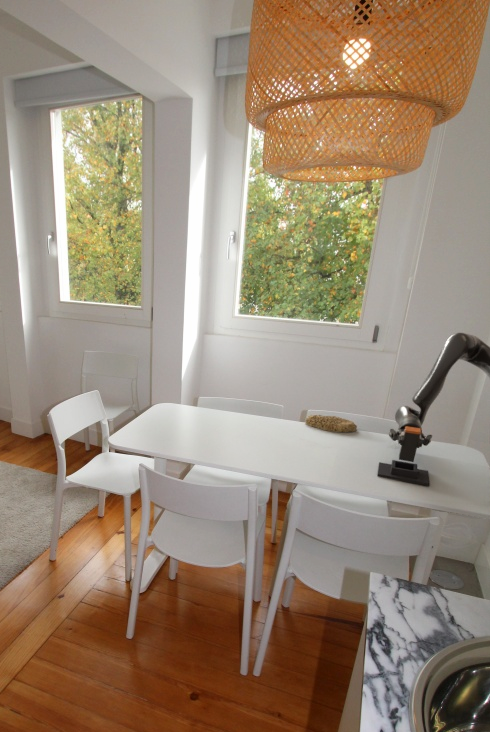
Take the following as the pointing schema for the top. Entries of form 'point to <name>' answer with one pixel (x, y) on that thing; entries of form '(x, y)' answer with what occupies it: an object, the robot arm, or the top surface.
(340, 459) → the top surface
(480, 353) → the robot arm
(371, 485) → the top surface
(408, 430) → the black and orange block
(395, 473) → the base pad
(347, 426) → the sponge
